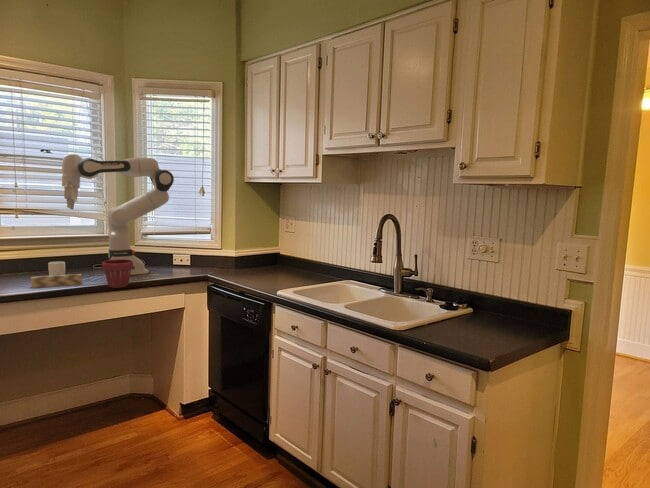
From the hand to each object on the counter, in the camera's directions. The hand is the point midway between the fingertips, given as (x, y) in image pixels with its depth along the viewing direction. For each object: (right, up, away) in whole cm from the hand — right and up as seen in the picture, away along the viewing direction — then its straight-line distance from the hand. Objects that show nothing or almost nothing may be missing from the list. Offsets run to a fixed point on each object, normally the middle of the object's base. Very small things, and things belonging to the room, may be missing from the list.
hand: (70, 208), depth 256 cm
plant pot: (+35, -41, -19) cm, 57 cm away
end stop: (+4, -40, -20) cm, 45 cm away
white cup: (-1, -39, -10) cm, 41 cm away
